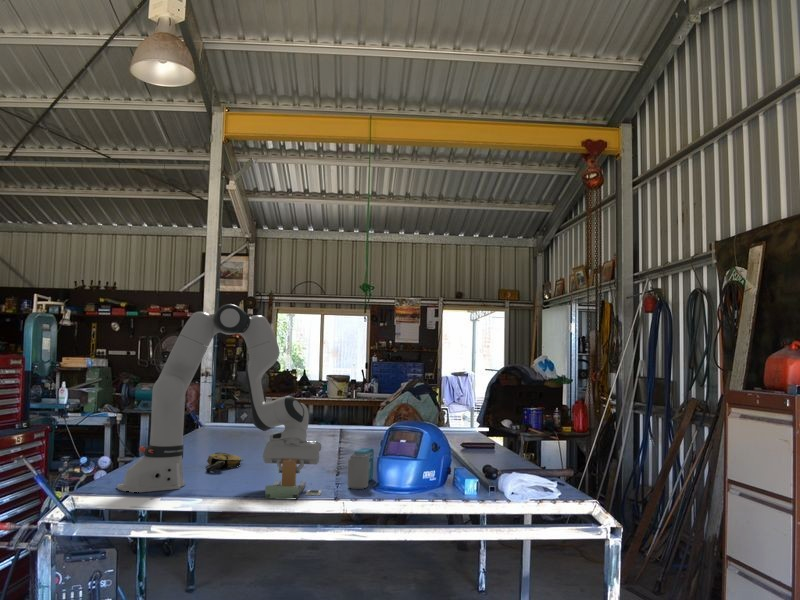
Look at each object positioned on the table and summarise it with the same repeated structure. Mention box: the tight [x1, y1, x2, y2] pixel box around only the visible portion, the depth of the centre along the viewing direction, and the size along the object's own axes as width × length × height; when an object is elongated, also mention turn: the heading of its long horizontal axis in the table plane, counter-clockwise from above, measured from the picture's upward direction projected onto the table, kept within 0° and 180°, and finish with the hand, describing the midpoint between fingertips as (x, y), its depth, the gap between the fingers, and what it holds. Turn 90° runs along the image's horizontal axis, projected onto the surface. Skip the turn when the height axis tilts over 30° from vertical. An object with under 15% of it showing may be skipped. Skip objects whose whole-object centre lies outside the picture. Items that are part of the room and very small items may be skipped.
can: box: [347, 453, 369, 490], centre depth 242 cm, size 8×8×12 cm
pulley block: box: [205, 452, 244, 472], centre depth 278 cm, size 14×6×30 cm
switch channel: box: [264, 480, 323, 500], centre depth 231 cm, size 24×17×4 cm
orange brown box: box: [281, 459, 298, 486], centre depth 237 cm, size 4×4×10 cm
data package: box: [353, 447, 375, 482], centre depth 257 cm, size 12×4×12 cm, turn 166°
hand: (289, 472), depth 236 cm, fingers closed on orange brown box, 4 cm apart
